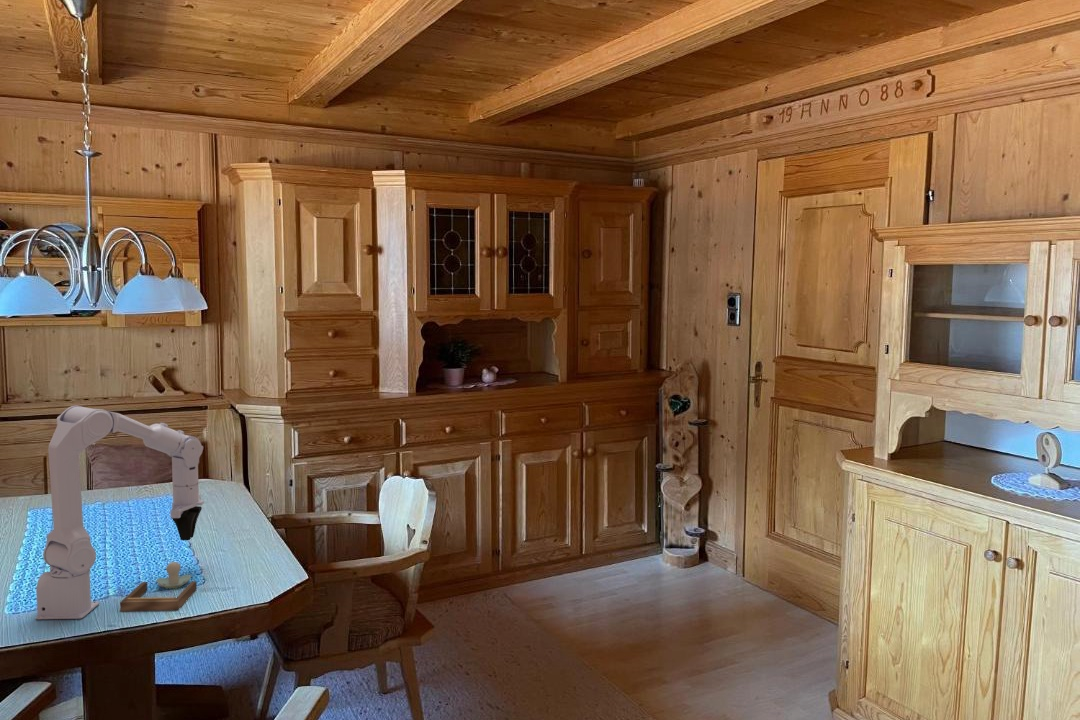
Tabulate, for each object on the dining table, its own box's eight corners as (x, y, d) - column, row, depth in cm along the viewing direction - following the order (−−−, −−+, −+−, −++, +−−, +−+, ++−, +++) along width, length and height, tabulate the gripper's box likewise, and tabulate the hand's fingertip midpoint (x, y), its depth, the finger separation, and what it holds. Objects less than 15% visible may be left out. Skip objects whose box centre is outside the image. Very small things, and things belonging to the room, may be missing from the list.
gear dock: (120, 611, 169) (120, 600, 169) (142, 590, 181) (142, 580, 181) (178, 610, 170) (177, 599, 170) (196, 589, 182) (196, 580, 182)
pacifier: (156, 584, 185) (156, 593, 180) (155, 558, 185) (155, 566, 179) (190, 580, 188) (191, 588, 183) (189, 554, 188) (190, 561, 183)
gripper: (191, 491, 184) (193, 548, 185) (212, 476, 198) (213, 529, 199) (160, 491, 183) (162, 548, 184) (183, 476, 198) (184, 529, 199)
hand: (187, 538), depth 192 cm, fingers closed
